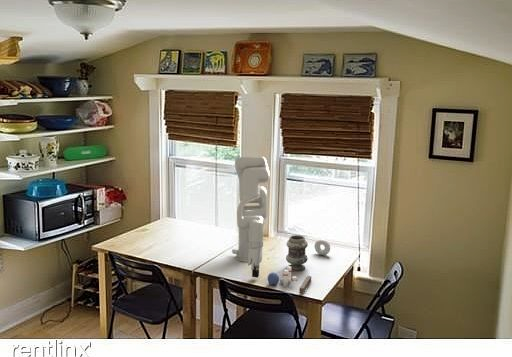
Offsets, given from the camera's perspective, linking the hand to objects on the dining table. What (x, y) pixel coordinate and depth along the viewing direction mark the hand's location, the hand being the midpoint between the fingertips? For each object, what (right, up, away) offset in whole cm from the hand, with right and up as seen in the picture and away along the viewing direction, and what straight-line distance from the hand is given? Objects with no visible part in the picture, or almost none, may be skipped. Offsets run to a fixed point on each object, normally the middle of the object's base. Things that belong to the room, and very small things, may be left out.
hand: (255, 276), depth 259 cm
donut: (+40, +6, +36) cm, 54 cm away
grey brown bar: (+25, -4, -9) cm, 27 cm away
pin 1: (+15, -3, -8) cm, 18 cm away
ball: (+9, 0, -6) cm, 11 cm away
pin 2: (+17, -2, -3) cm, 18 cm away
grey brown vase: (+23, +1, +16) cm, 28 cm away
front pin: (+13, -2, -5) cm, 14 cm away
